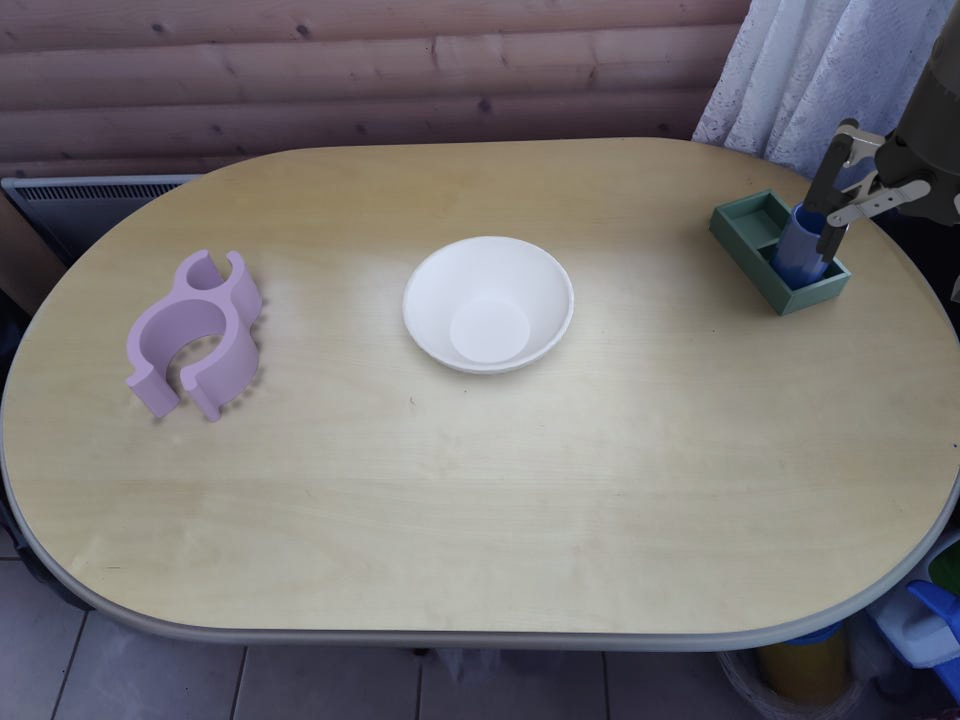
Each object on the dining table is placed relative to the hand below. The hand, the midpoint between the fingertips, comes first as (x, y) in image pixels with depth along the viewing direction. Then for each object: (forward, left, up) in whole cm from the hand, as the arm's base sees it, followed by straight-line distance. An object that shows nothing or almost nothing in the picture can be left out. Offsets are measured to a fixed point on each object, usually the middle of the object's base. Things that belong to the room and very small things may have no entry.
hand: (890, 273), depth 48 cm
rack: (+8, -27, -29) cm, 40 cm away
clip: (+63, +18, -29) cm, 71 cm away
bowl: (+34, 0, -29) cm, 45 cm away
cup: (+5, -24, -28) cm, 37 cm away
